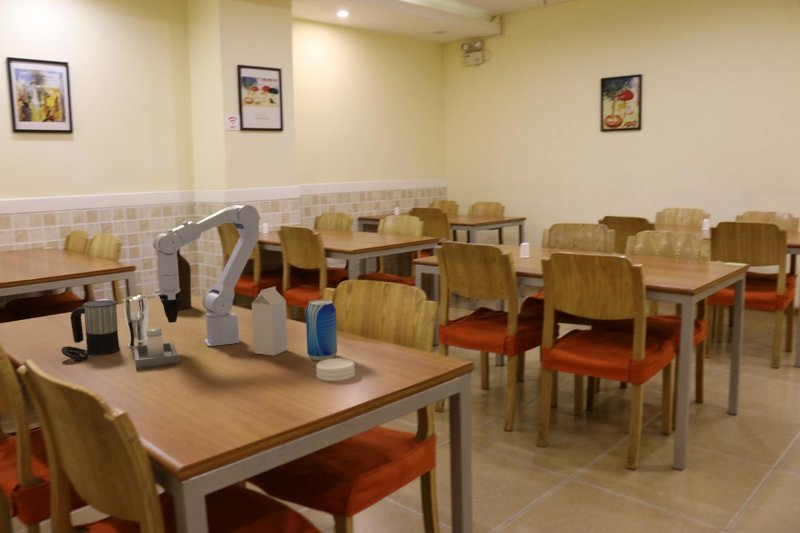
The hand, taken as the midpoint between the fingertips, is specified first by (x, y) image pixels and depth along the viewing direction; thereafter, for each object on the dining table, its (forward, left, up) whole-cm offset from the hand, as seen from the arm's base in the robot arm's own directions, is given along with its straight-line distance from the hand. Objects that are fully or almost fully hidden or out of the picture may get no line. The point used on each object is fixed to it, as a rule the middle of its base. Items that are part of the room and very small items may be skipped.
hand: (171, 319), depth 198 cm
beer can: (-38, +27, -10) cm, 48 cm away
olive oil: (-8, -65, -10) cm, 66 cm away
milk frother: (+22, -6, -10) cm, 25 cm away
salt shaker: (+5, +8, -9) cm, 13 cm away
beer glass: (+9, -11, -10) cm, 17 cm away
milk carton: (-26, +15, -10) cm, 32 cm away
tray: (+6, +8, -9) cm, 14 cm away
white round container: (-36, +45, -10) cm, 58 cm away
